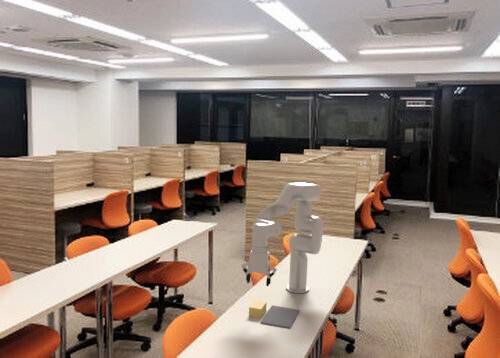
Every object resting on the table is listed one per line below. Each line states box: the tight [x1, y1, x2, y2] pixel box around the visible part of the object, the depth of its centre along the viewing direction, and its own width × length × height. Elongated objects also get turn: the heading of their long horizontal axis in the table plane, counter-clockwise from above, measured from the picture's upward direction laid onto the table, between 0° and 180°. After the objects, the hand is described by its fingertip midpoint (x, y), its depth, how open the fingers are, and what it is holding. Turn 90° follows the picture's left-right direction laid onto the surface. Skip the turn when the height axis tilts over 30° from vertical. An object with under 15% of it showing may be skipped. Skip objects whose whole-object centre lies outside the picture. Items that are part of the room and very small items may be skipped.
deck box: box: [248, 299, 267, 319], centre depth 220 cm, size 9×6×4 cm, turn 162°
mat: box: [260, 305, 300, 329], centre depth 216 cm, size 20×14×1 cm
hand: (258, 283), depth 218 cm, fingers open, 9 cm apart
